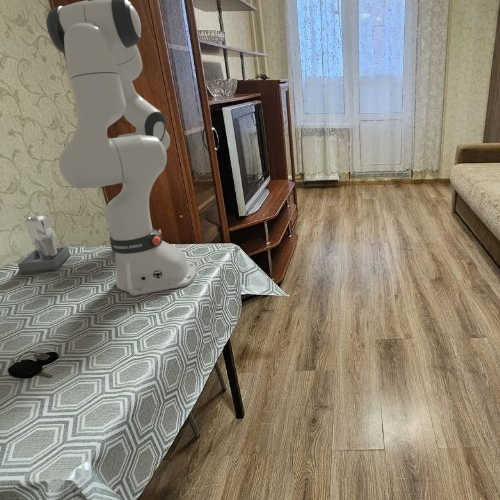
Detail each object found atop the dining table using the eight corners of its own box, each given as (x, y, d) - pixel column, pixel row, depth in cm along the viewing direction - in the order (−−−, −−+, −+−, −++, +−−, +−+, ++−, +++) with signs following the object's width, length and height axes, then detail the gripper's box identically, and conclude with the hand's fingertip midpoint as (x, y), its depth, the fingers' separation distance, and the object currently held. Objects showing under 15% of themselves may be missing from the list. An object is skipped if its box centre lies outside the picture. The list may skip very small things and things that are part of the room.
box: (70, 255, 129) (67, 246, 127) (57, 270, 118) (53, 260, 117) (37, 259, 128) (34, 249, 127) (21, 274, 118) (17, 264, 117)
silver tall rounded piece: (49, 256, 127) (35, 214, 121) (67, 257, 125) (53, 214, 119) (34, 266, 120) (19, 222, 114) (53, 266, 119) (38, 221, 113)
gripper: (110, 137, 136) (72, 143, 127) (142, 138, 123) (103, 145, 114) (114, 155, 138) (77, 162, 129) (145, 158, 125) (107, 166, 116)
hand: (89, 154), depth 121 cm, fingers open, 8 cm apart
